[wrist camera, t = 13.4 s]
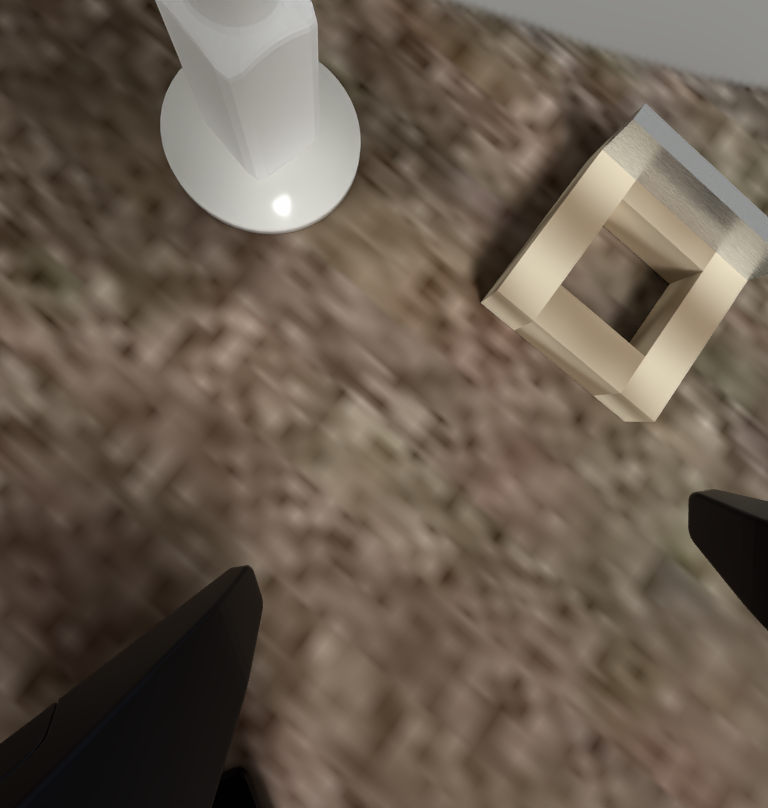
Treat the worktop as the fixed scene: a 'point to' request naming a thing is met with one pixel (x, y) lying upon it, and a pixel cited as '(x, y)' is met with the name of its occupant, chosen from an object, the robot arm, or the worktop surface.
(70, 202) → the worktop surface
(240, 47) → the pepper shaker
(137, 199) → the worktop surface
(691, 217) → the square wooden frame
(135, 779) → the robot arm
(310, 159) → the coaster
